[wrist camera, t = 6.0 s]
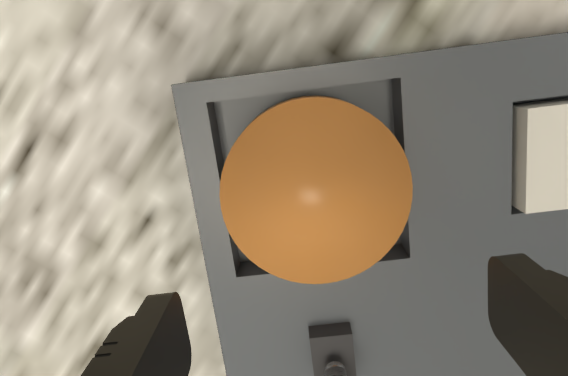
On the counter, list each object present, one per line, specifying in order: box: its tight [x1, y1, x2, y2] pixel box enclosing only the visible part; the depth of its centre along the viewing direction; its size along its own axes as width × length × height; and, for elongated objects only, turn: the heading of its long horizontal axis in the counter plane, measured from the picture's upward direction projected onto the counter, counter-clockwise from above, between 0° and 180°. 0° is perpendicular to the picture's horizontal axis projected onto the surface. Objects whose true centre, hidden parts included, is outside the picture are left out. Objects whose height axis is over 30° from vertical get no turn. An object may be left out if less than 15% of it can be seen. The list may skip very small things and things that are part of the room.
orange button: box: [220, 96, 413, 284], centre depth 22 cm, size 9×9×2 cm
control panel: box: [171, 32, 568, 376], centre depth 24 cm, size 28×20×4 cm
